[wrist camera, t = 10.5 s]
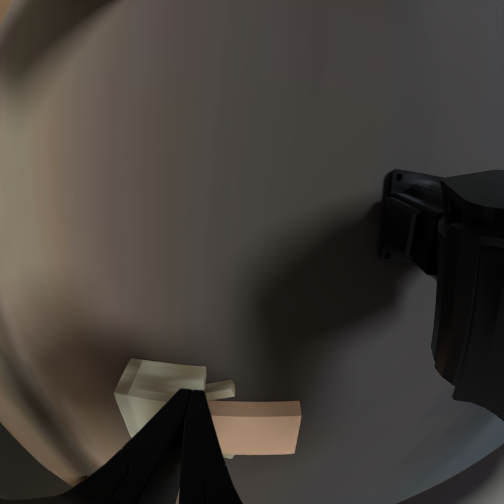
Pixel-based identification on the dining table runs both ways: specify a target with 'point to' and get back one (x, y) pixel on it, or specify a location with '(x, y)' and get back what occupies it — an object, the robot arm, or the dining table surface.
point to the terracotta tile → (256, 426)
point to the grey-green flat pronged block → (161, 389)
